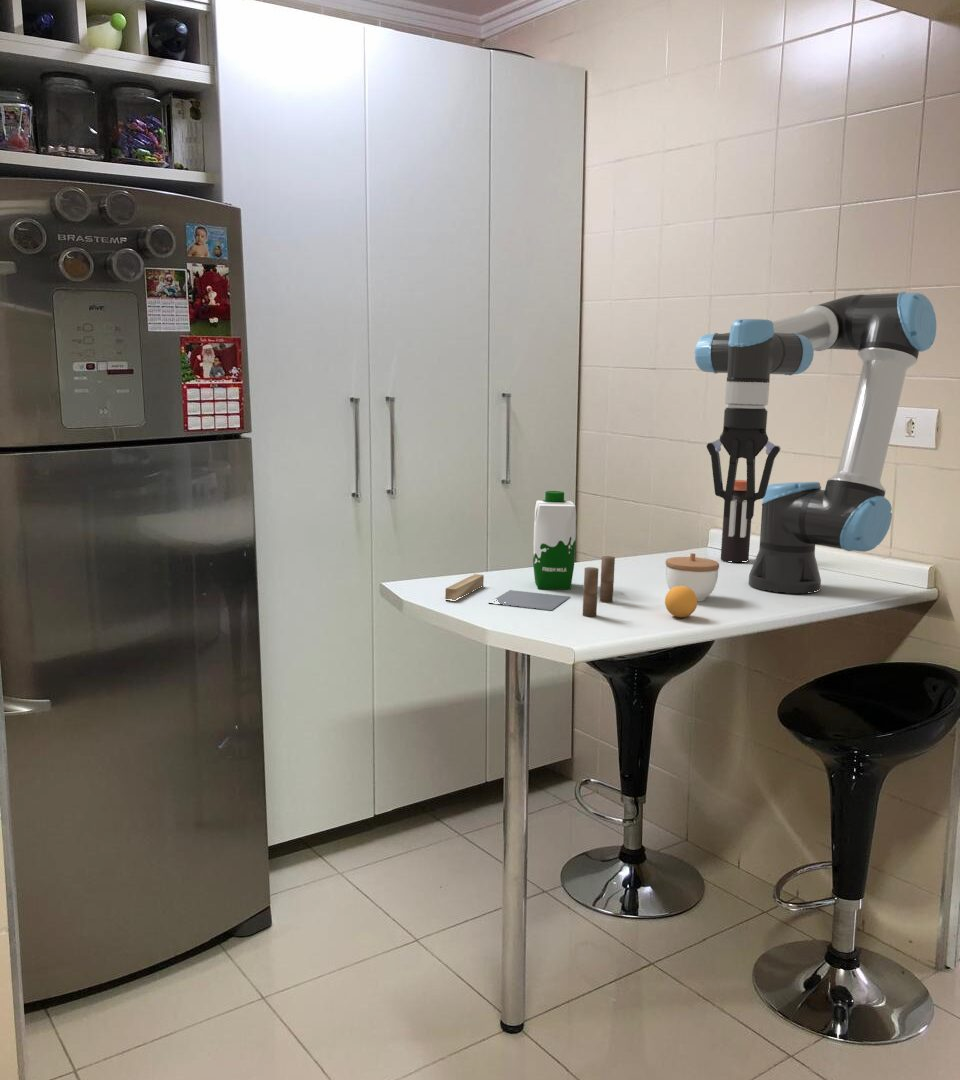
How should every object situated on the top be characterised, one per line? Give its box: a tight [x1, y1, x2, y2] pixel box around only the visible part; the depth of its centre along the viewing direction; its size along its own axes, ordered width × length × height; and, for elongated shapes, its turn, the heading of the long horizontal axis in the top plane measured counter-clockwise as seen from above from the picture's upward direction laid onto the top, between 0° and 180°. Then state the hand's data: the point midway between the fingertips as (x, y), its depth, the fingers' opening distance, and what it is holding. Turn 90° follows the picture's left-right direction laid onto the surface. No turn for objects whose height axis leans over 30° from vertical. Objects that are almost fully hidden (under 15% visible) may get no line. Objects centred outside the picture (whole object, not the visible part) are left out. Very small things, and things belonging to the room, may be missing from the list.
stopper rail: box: [444, 573, 485, 600], centre depth 208 cm, size 2×16×2 cm, turn 159°
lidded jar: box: [665, 552, 720, 602], centre depth 209 cm, size 11×11×9 cm
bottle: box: [720, 479, 752, 562], centre depth 251 cm, size 7×7×20 cm
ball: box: [664, 586, 698, 618], centre depth 193 cm, size 6×6×6 cm
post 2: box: [599, 555, 616, 604], centre depth 204 cm, size 3×3×9 cm
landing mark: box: [494, 589, 571, 611], centre depth 204 cm, size 13×13×1 cm
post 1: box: [582, 566, 600, 618], centre depth 192 cm, size 3×3×9 cm
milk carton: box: [532, 490, 577, 590], centre depth 216 cm, size 9×9×20 cm
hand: (737, 535), depth 187 cm, fingers closed
